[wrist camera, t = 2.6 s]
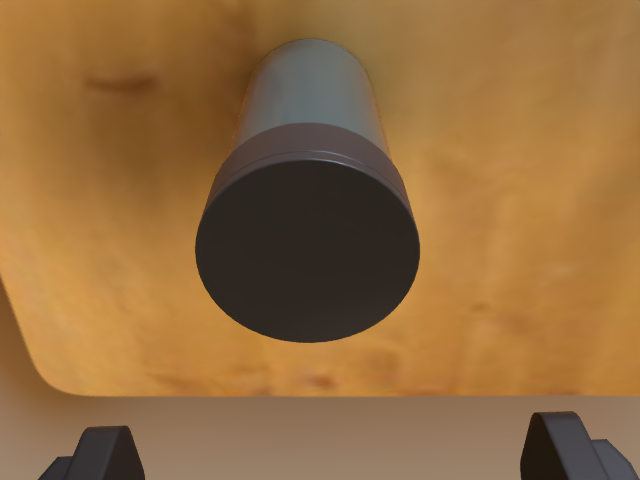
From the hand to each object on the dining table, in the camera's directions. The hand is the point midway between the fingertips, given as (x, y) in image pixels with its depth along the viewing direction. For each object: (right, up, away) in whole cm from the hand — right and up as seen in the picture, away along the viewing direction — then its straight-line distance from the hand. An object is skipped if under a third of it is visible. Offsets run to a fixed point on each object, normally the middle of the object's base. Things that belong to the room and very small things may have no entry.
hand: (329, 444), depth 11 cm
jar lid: (-1, +4, +5) cm, 7 cm away
